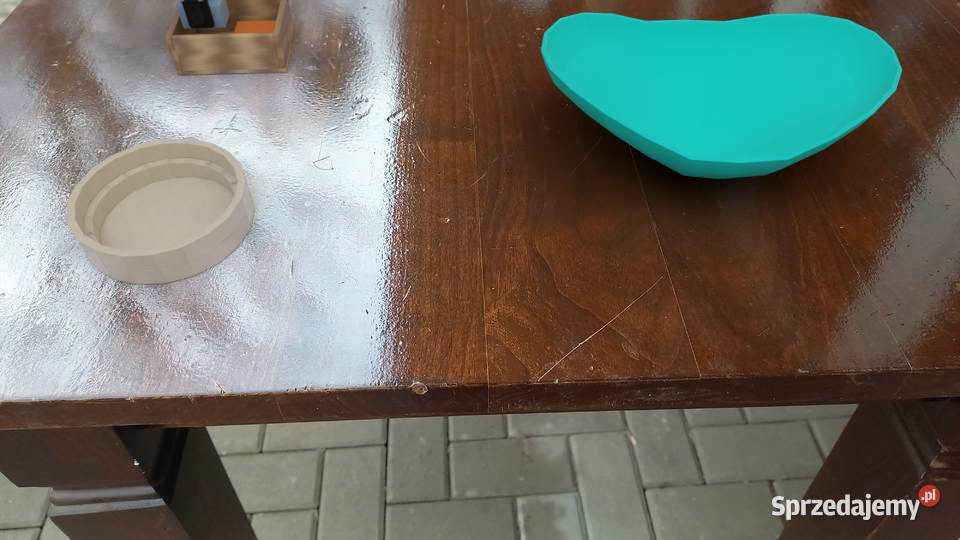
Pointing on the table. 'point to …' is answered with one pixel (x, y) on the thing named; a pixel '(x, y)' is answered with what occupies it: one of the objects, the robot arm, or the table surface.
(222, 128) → the table surface
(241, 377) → the table surface
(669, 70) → the table top decor
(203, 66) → the holder
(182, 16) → the blue rectangular block
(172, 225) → the bowl
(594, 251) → the table surface
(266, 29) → the orange rectangular block
